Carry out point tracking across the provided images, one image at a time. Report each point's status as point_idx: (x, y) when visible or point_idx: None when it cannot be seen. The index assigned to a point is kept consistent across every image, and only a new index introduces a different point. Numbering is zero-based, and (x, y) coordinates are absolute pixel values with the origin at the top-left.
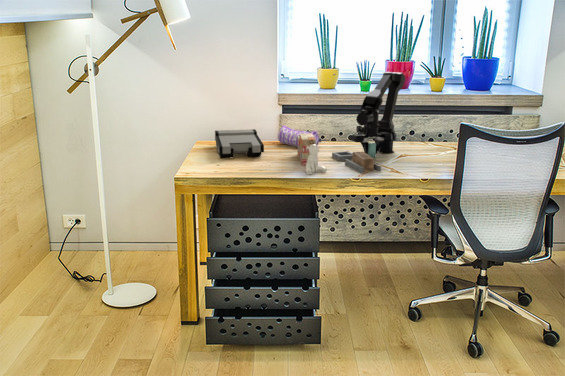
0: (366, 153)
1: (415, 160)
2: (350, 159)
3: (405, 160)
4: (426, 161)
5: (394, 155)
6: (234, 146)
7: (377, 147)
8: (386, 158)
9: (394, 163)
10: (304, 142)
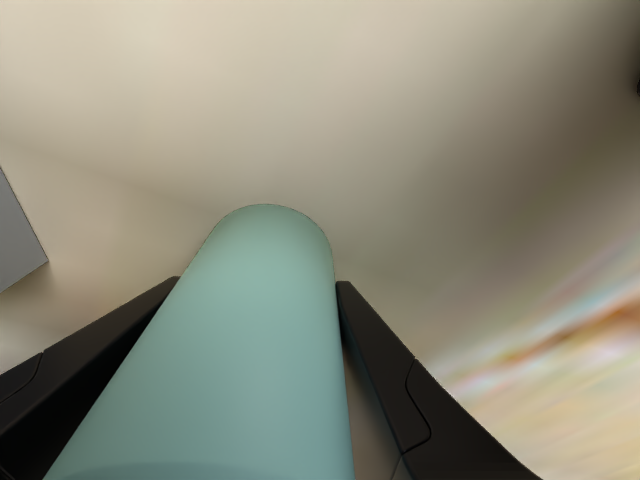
0: None
1: (577, 431)
2: None
3: (515, 415)
4: (606, 459)
5: (633, 256)
6: None
7: (353, 452)
8: (430, 329)
9: None
10: None
